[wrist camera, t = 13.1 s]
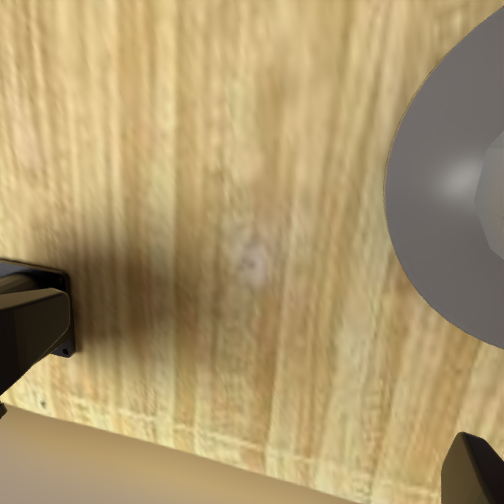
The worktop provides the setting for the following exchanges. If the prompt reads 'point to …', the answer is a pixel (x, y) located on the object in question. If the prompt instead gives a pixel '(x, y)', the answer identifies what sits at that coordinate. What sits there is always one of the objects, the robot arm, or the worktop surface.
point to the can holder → (454, 185)
